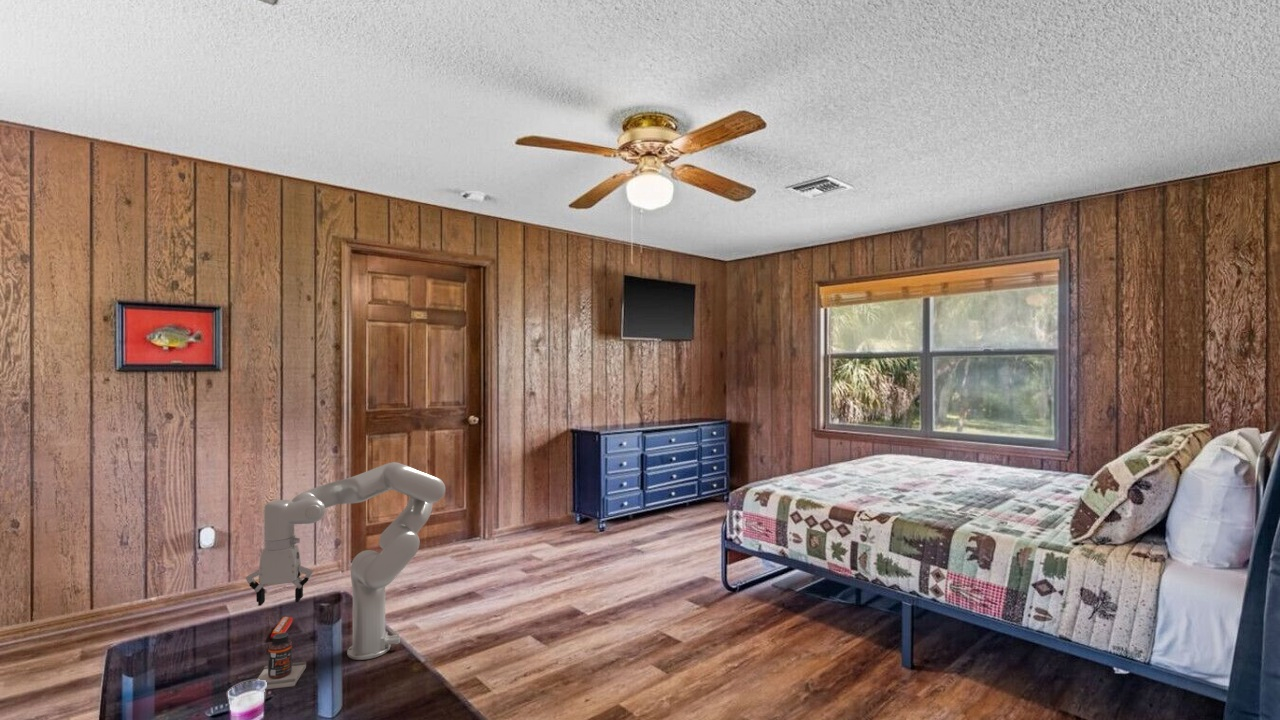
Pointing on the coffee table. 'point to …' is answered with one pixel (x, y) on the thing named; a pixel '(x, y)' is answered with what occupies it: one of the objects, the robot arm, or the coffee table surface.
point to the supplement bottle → (280, 656)
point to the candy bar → (282, 626)
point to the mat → (284, 681)
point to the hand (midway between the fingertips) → (280, 602)
